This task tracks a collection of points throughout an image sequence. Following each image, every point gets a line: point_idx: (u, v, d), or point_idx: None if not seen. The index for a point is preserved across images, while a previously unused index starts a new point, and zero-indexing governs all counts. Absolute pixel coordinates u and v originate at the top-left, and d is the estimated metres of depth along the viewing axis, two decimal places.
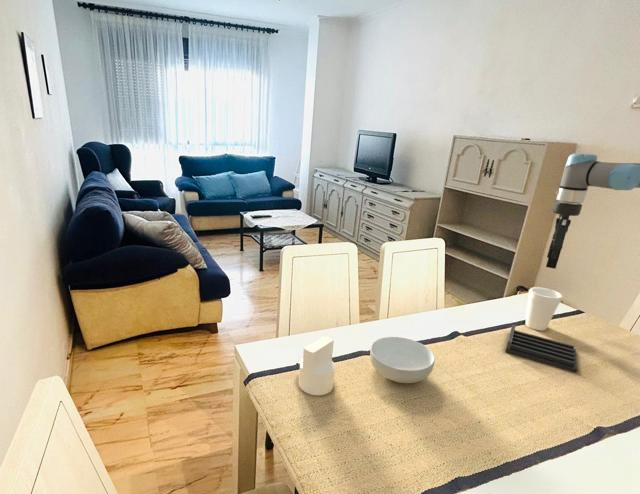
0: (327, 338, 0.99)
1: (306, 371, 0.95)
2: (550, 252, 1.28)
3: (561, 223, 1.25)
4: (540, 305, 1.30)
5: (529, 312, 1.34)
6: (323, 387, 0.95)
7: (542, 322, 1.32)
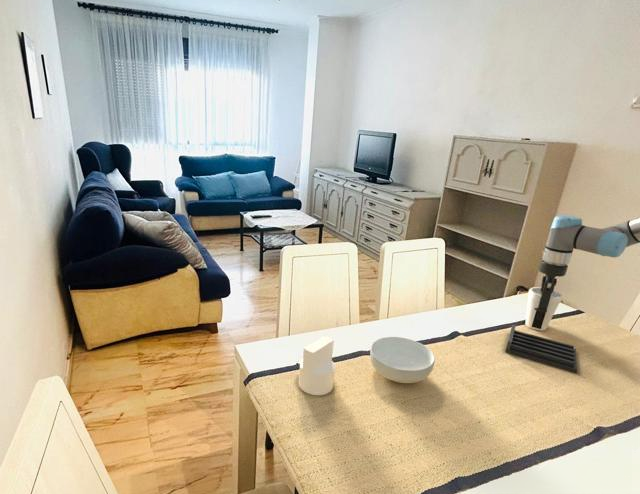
0: (327, 338, 0.99)
1: (306, 371, 0.95)
2: (535, 313, 1.30)
3: (546, 286, 1.26)
4: None
5: (529, 312, 1.34)
6: (323, 387, 0.95)
7: None
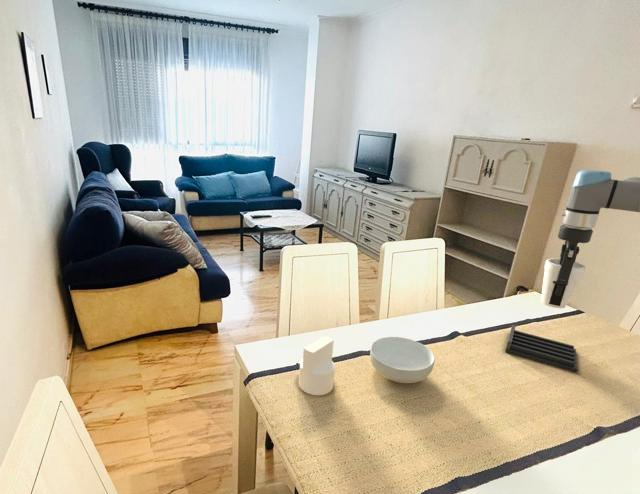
0: (327, 338, 0.99)
1: (306, 371, 0.95)
2: (554, 287, 1.11)
3: (567, 255, 1.06)
4: None
5: (546, 287, 1.15)
6: (323, 387, 0.95)
7: None
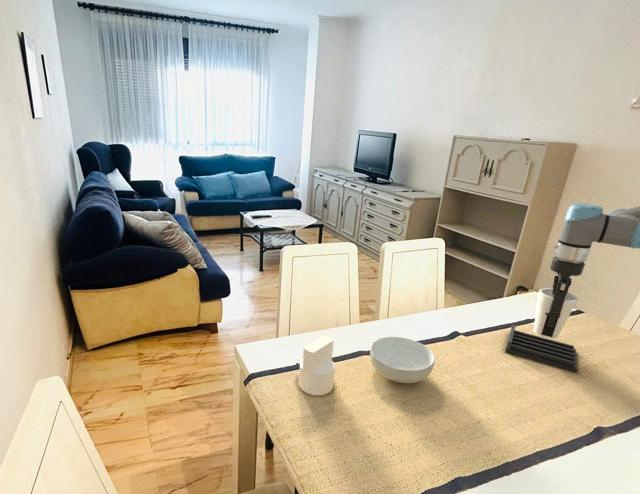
0: (327, 338, 0.99)
1: (306, 371, 0.95)
2: (546, 318, 1.12)
3: (559, 288, 1.07)
4: None
5: (538, 317, 1.15)
6: (323, 387, 0.95)
7: None
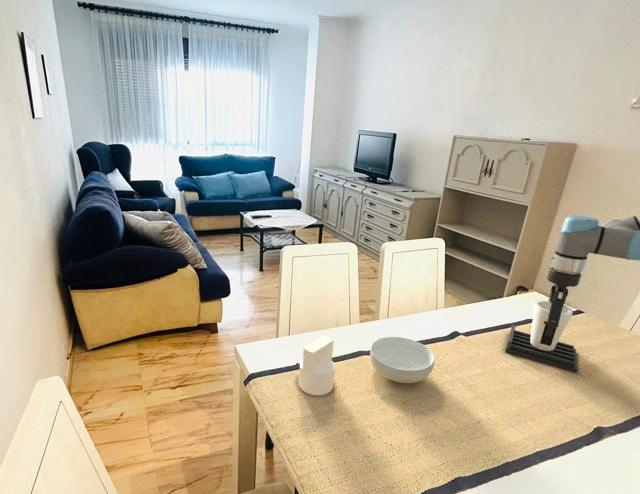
0: (327, 338, 0.99)
1: (306, 371, 0.95)
2: (544, 327, 1.11)
3: (557, 296, 1.07)
4: None
5: (535, 330, 1.17)
6: (323, 387, 0.95)
7: None
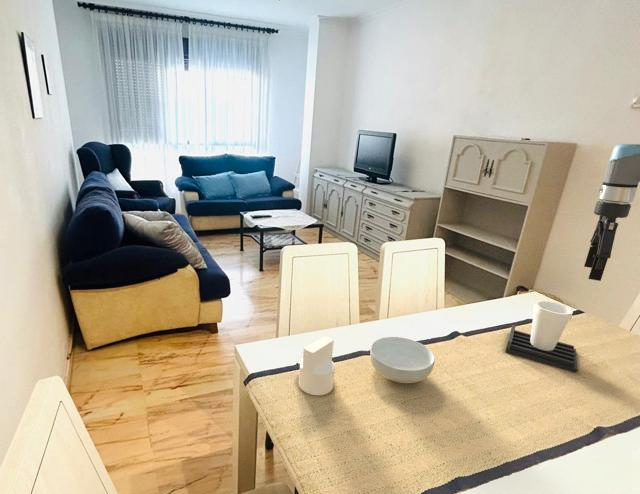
0: (327, 338, 0.99)
1: (306, 371, 0.95)
2: (594, 261, 1.08)
3: (608, 227, 1.04)
4: (548, 323, 1.13)
5: (535, 330, 1.17)
6: (323, 387, 0.95)
7: (550, 341, 1.14)
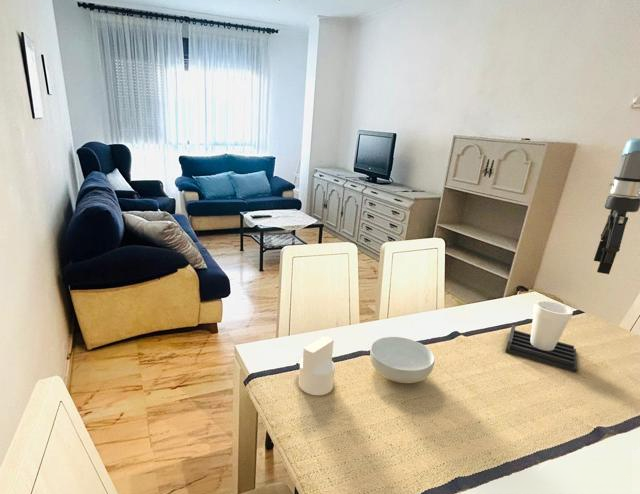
0: (327, 338, 0.99)
1: (306, 371, 0.95)
2: (603, 255, 1.09)
3: (618, 221, 1.06)
4: (548, 323, 1.13)
5: (535, 330, 1.17)
6: (323, 387, 0.95)
7: (550, 341, 1.14)
